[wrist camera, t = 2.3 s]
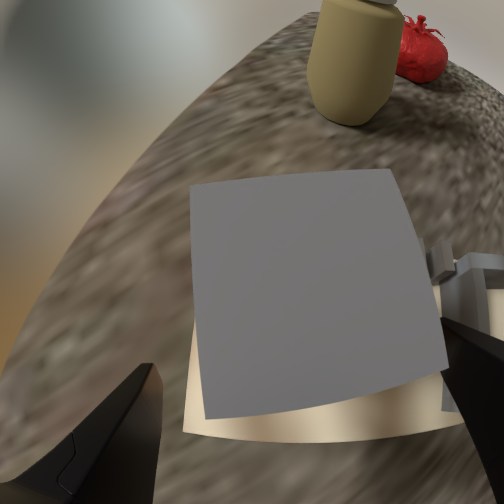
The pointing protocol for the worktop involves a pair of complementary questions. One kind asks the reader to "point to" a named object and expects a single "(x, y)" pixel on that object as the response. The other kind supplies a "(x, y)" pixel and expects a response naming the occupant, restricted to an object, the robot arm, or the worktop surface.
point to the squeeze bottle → (354, 58)
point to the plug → (308, 292)
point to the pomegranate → (420, 53)
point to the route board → (387, 401)
